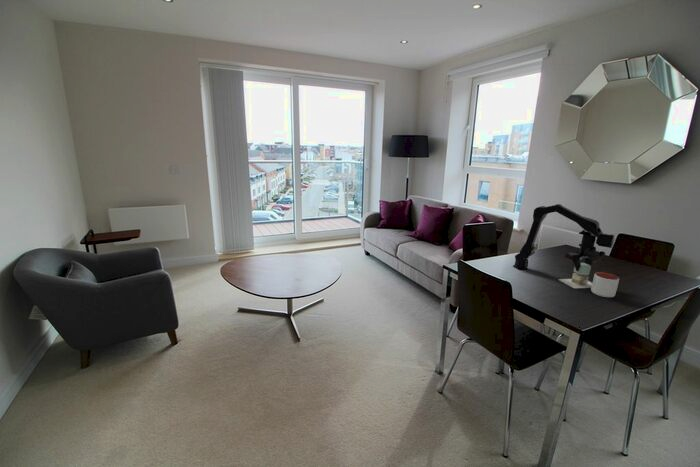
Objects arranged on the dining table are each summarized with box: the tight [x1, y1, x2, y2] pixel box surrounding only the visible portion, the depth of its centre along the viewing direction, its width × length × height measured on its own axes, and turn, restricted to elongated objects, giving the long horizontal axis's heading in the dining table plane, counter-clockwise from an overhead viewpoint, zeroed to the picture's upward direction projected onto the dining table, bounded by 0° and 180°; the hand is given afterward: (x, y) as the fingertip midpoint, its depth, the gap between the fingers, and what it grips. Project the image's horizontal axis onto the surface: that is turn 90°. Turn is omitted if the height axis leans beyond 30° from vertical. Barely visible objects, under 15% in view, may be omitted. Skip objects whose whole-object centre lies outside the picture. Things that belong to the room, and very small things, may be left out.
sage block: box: [573, 262, 592, 276], centre depth 176 cm, size 5×5×5 cm
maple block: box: [571, 272, 590, 285], centre depth 177 cm, size 5×5×5 cm
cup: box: [590, 272, 620, 298], centre depth 164 cm, size 10×10×10 cm
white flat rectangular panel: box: [557, 278, 593, 289], centre depth 178 cm, size 16×12×1 cm
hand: (581, 270), depth 176 cm, fingers closed on sage block, 5 cm apart
